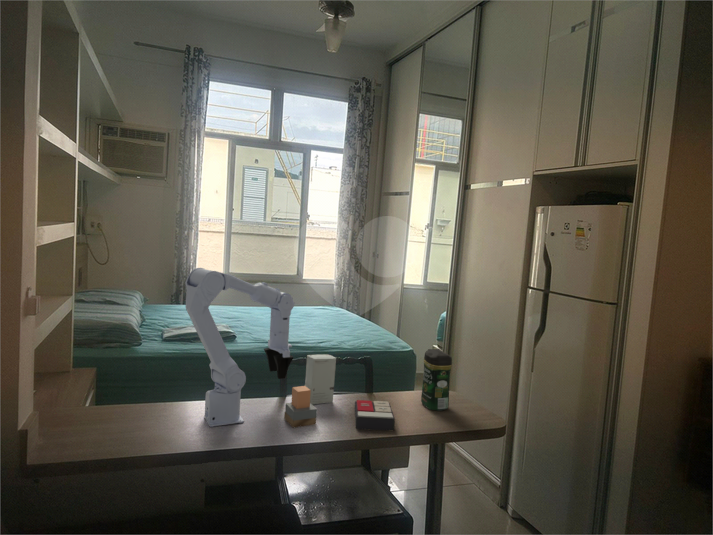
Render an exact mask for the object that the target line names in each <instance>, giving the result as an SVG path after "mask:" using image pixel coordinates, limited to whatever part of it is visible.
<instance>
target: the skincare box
mask: <svg viewBox="0 0 713 535" xmlns="http://www.w3.org/2000/svg"><path fill="white" fill-rule="evenodd" d="M336 364H337V357H335V356H333V355H331V354H307V355H306V366H305V367H306V368H305V382H304V386H306V387H307V388H309V389H310V390H311V394H310V403H311V404H312V405H313V406H314V405H320V404H321V405H322V404H329V403H333V402H334V391H335V390H334V389H335V377H336V367H337V366H336Z"/></svg>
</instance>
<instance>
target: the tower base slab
mask: <svg viewBox="0 0 713 535" xmlns="http://www.w3.org/2000/svg"><path fill="white" fill-rule="evenodd" d="M283 419H284V421H286V422H287V423H288V424H289V425H290V426H291V427H292V428H293V429H295V428H301V427H307V426H313V425H317V418H310V419H302V420H295V421H293V420H292V419H291V417H290V416H289V415H288V414H287V413H286V412H285V411H284V418H283ZM294 427H295V428H294Z"/></svg>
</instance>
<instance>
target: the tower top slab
mask: <svg viewBox="0 0 713 535" xmlns="http://www.w3.org/2000/svg"><path fill="white" fill-rule="evenodd" d="M285 412H286V413H287V414H288V415H289V416H290V417H291V419H292V420H293V421H295V420H302V419H310V418H316V419H317V418H318V417H317V416H318V409H317V407H315V406H314V405H312V404H311V403H310V407H307V408H300V409H296V408H295V407H294V406H293V405H292V404H291V402H288V403H287V402H286V403H285V410H284V413H285Z"/></svg>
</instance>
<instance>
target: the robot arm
mask: <svg viewBox="0 0 713 535" xmlns="http://www.w3.org/2000/svg"><path fill="white" fill-rule="evenodd" d="M184 284H185V288H186V294H185V295H186V296H185V310H186V311H187V313H188V317H189V318H190V320H191V323H192V324H193V327H194V329H195V331H196V334H197V336H198V337H199V340H200V341H201V344H202V346H203V348H204V350H205V351H206V354H207V357H208V358H209V360H210V363H209V365H208V366H209V368H210V377H211V380H212V381H213V382H214V388H213V389H211V390H207V391H206V392H205V397H204V398H205V399H204V402H205V403H204V416H203V417H204V420H205V421H206V423H207V425H208V426H209V427H211V428H212V427H219V426H226V425H233V424H239V423H240V424H242V423H244V422H245V420H244V419H243V417H242V416H241V414H240V412H241V411H240V410H241V392H242V388H244V386H245V385H246V380H247V376H246V373H245V371H243V370H241V369H240V368H239V365H238V364H237V363H236V362H235V360H234V359H233V358H232V357H231V356H230V353H229V351H228V349H227V346H226V345H225V342H224V340H223V338H222V335H221V334H220V331H219V329H218V327H217V325H216V322H215V320H214V317H213V316H212V313H211V311H210V309H209V308H210V305H211V304H212V302H213V301H214V300H215V299H216V297H218V295H220V293H221V292H222V291H227V290H228V289H231V290H234V291H237V292H240V293H243V294H246V295H249V298H250V300H251V301H252V302H254V303H257V304H260V305H263V306H265V307H268V308H269V309H270V320H269V321H270V323H269V324H270V325H269V339H268V340H267V346H268V347H265V348H264V349H263V350H264V354H265V355H266V359H267V363H268V364H267V365H268V368H269V371H270V372H276V375H277V378H278V379H279V380H281V379H283V380H284V379H286V377H287V372H288V369H289V366H290V365H291V363H292V361H293V360H294V355H291V350H290V348H292V347H293V345H292V344H291V343H289V338H290V337H289V335H290V334H289V333H290V319H291V318H290V317H291V314H292V310H293V308H294V307H295V304H296V302H295V301H294V299H293V296H292V294H290V293H288V292H284V291H281V289H280V288H278V287H272V286H269V283H267V282H264V281H262V282H256V283H255V284H253V283H250V282H248V281H245V280H244V279H241V278H238V277H237V276H234V275H232V274H230V273H224V272H221V271H217V270H209V269H206V268H203V267H196V268H194V269H192V270H191V271H190V273H189V274H188V276H187V278H186V280H185V282H184Z"/></svg>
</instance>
